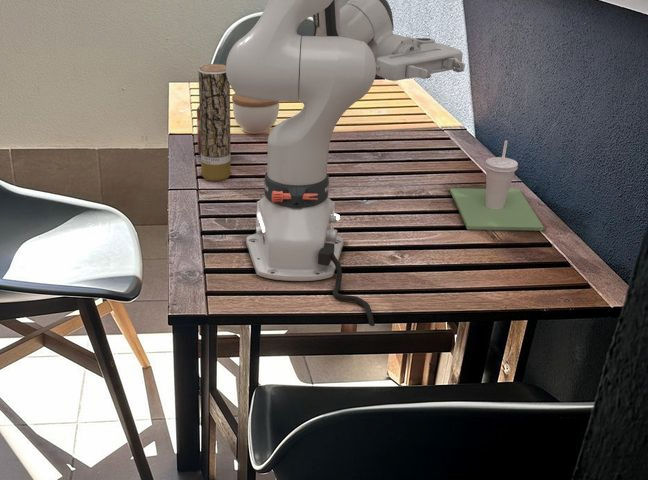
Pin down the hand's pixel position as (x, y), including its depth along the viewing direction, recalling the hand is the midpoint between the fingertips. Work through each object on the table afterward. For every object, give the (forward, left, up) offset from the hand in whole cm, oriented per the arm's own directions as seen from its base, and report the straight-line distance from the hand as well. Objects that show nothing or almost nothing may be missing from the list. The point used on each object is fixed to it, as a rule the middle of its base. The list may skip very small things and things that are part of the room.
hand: (445, 71), depth 167 cm
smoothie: (-11, -11, -25) cm, 30 cm away
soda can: (+21, +51, -26) cm, 61 cm away
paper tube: (+6, +49, -26) cm, 55 cm away
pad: (-11, -11, -26) cm, 30 cm away
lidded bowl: (+41, +41, -26) cm, 63 cm away
